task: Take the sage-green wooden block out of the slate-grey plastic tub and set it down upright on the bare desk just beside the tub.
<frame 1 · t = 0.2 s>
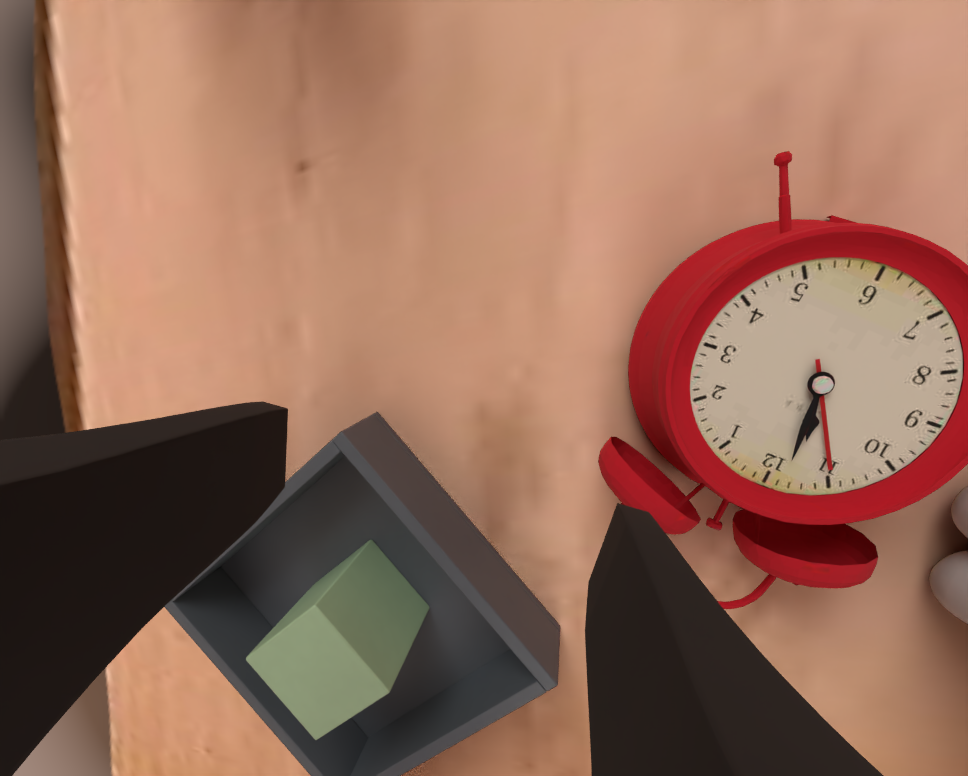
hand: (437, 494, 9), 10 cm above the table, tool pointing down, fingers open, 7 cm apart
tub: (374, 590, 23), on the table
block: (370, 595, 22), resting on tub
alarm clock: (746, 404, 18), on the table
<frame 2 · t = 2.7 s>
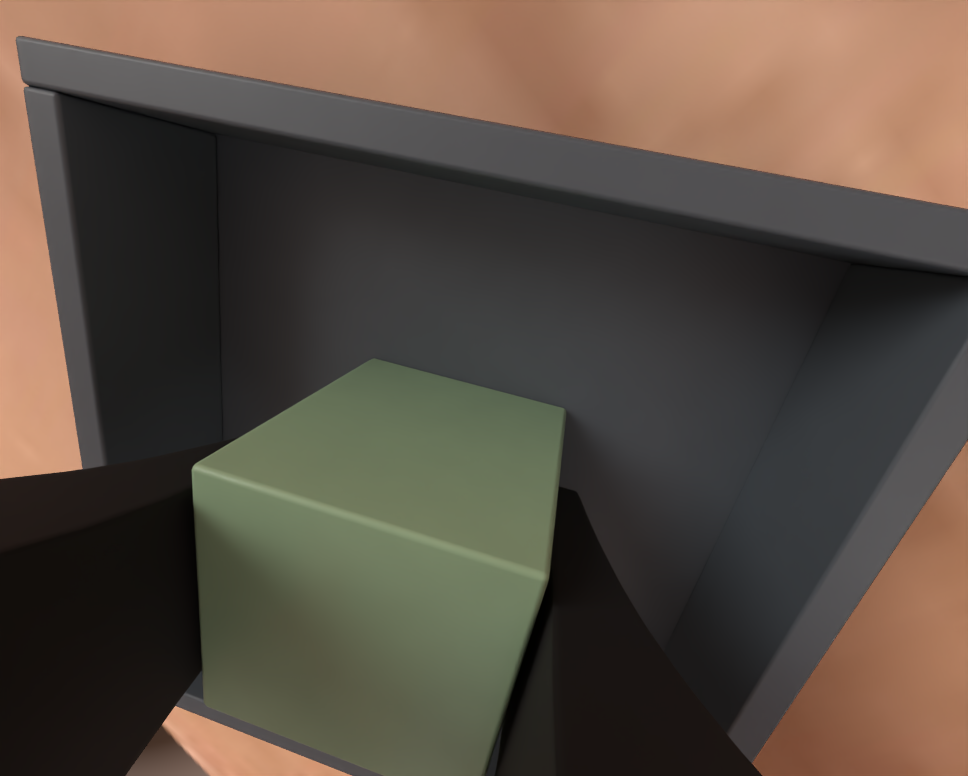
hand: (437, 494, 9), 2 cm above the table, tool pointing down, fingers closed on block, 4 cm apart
tub: (455, 459, 11), on the table
block: (450, 467, 10), resting on tub, touching gripper
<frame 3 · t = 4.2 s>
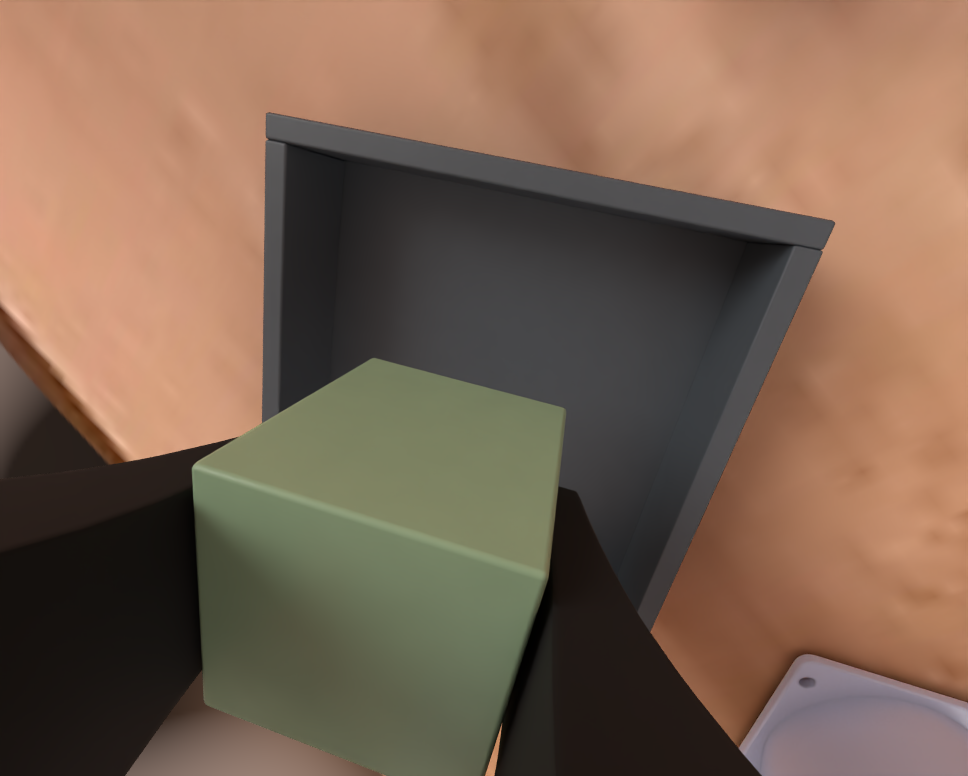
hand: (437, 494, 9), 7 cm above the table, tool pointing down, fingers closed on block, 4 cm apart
tub: (496, 382, 16), on the table
block: (450, 467, 10), point 6 cm above the table, touching gripper
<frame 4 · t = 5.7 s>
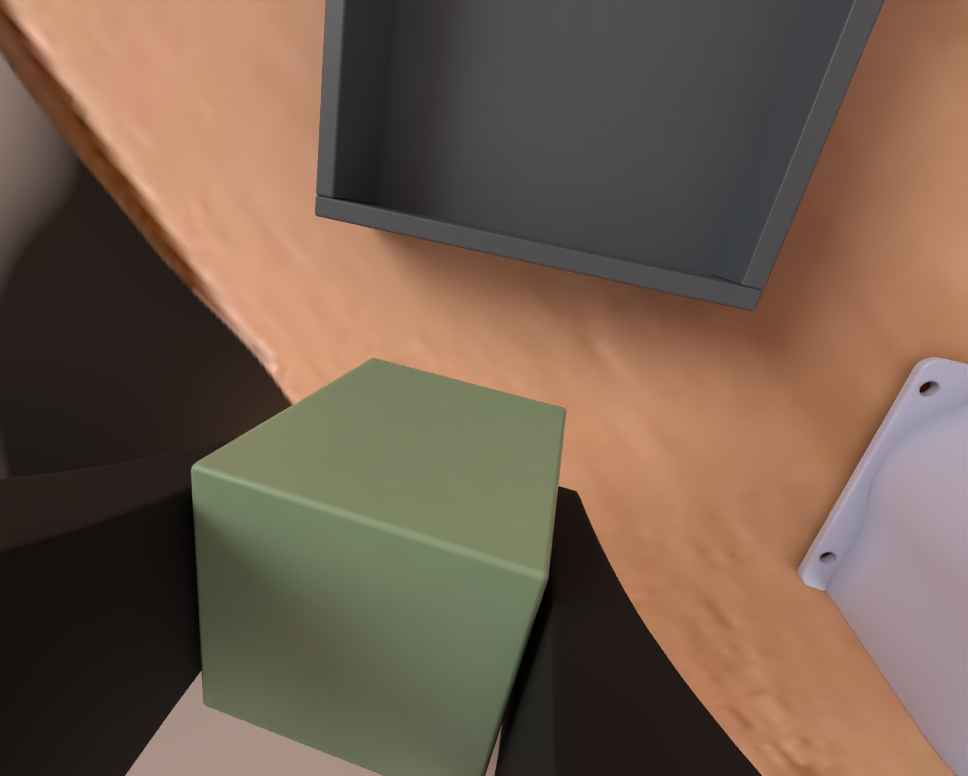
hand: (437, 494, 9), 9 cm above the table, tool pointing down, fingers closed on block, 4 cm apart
tub: (581, 36, 14), on the table
block: (450, 467, 10), point 8 cm above the table, touching gripper
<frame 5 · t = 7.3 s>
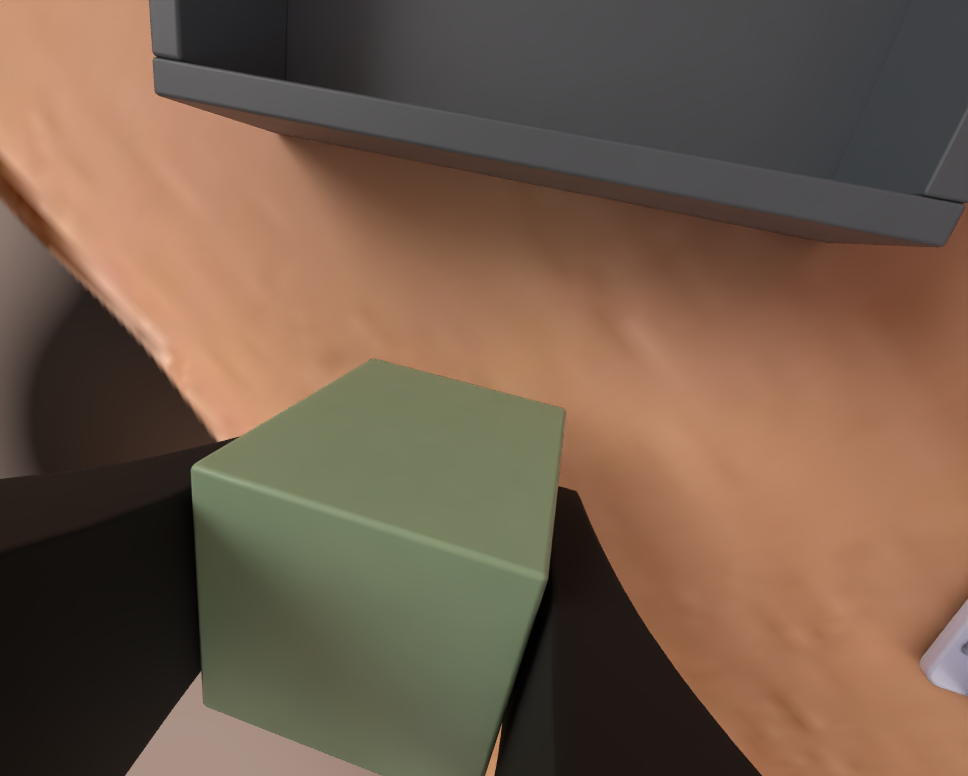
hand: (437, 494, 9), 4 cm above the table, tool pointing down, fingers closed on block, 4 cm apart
block: (450, 467, 10), point 3 cm above the table, touching gripper
when the fingers open (1 cm above the table, at t = 8.6 s): block stays where it is, on the table.
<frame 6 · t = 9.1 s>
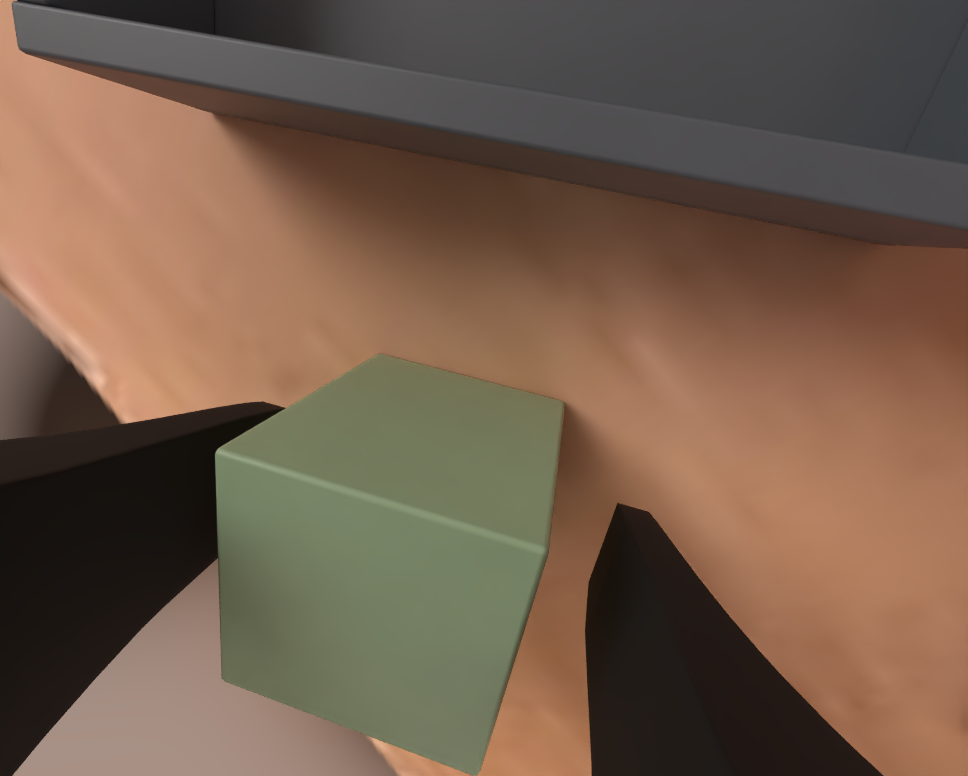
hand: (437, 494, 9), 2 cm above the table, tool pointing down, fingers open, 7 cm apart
block: (453, 459, 11), on the table
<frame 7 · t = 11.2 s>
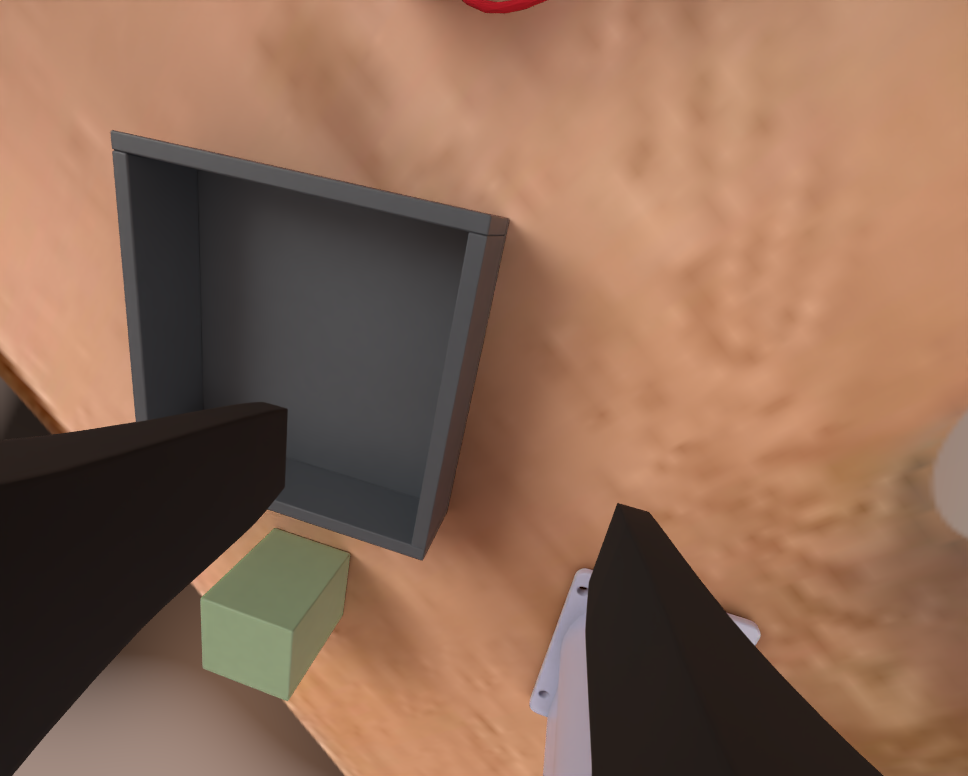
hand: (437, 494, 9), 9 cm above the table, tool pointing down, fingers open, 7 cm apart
tub: (329, 344, 19), on the table
block: (309, 571, 24), on the table
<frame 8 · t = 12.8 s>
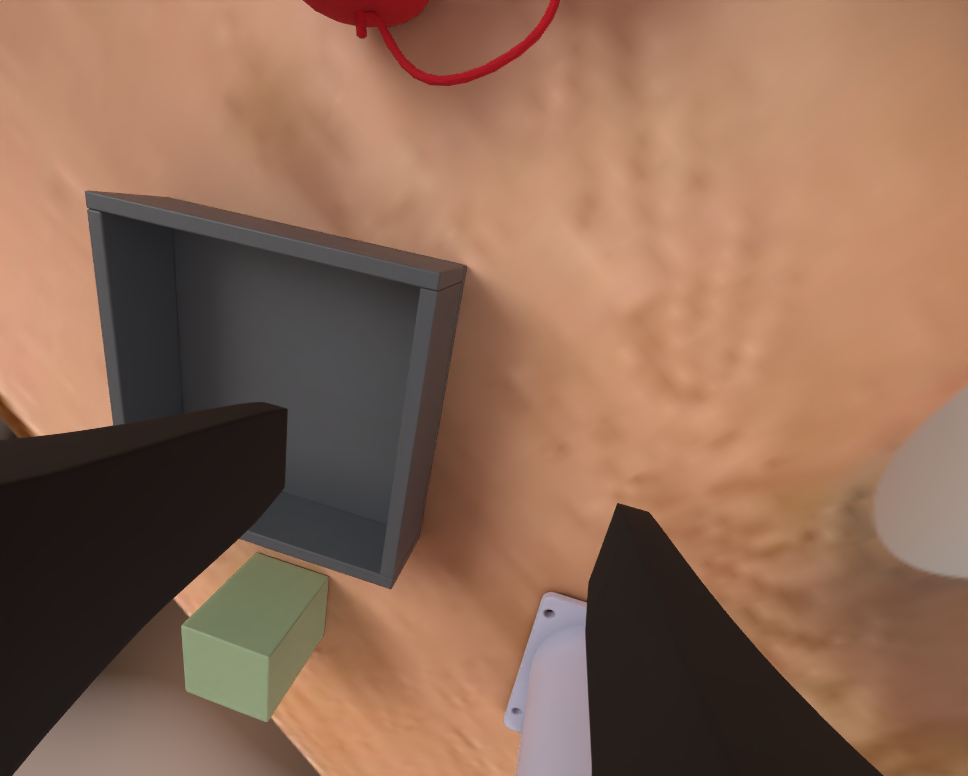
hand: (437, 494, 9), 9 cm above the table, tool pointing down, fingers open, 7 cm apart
tub: (302, 380, 20), on the table
block: (291, 594, 25), on the table
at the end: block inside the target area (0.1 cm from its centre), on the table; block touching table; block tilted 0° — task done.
